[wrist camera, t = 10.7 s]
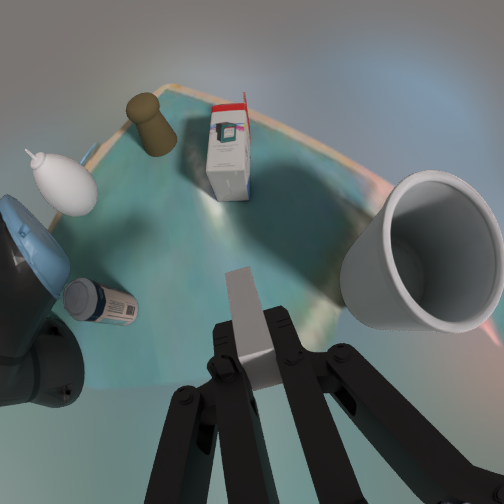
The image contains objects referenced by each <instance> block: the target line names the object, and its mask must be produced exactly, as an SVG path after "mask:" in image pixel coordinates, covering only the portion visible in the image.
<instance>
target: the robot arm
mask: <svg viewBox="0 0 504 504" xmlns="http://www.w3.org/2000/svg"><path fill="white" fill-rule="evenodd" d="M70 270H71V267H70V261H69V259H68V257H67V255H66V253H65V252H64V250H63V249H62V247H61V246H60V245H59V244H58V242H57V241H56V240H55V239H54V237H53V236H52V235H51V234H50V233H49V232H48V231H47V229H46V228H45V227H44V226H43V225H42V224H41V223H40V222H39V221H38V220H37V219H36V218H35V217H34V215H33V214H31V212H30V211H29V210H28V209H26V208H25V206H23V205H22V204H21V203H20V202H19V201H18V200H17V199H15V198H13V197H11V196H10V195H4V196H3V197H2V198H1V199H0V407H1V406H8V405H15V404H21V403H27V402H31V403H35V404H39V405H43V406H47V407H51V408H58V407H64V406H67V405H70V404H72V403H73V402H74V401H76V399H77V398H78V397H79V395H80V393H81V391H82V388H83V384H84V362H83V357H82V353H81V350H80V347H79V345H78V342H77V340H76V338H75V337H74V335H73V334H72V332H71V331H70V330H69V328H68V327H67V326H66V325H65V324H63V323H62V322H60V321H59V320H56V319H53V318H47V316H48V314H49V312H50V311H51V309H52V307H53V305H54V304H55V302H56V300H57V299H59V297H60V292H61V290H62V288H63V286H64V284H65V283H66V281H67V279H68V277H69V275H70ZM225 277H226V284H227V290H228V297H229V304H230V310H231V317H232V320H230V321H226V322H222V323H218V324H216V325H215V327H214V329H213V345H214V356H213V357H212V358H211V359H210V360H209V362H208V363H207V369H208V371H209V373H210V375H211V376H212V379H211V380H210V381H208V382H207V383H205V384H203V385H202V386H200V387H198V388H195V387H193V386H189V385H187V386H183V387H180V388H178V389H177V391H175V392H174V394H173V396H172V399H171V403H170V406H169V409H168V413H167V416H166V420H165V423H164V427H163V431H162V434H161V438H160V442H159V445H158V449H157V453H156V457H155V461H154V464H153V468H152V472H151V476H150V480H149V484H148V488H147V493H146V496H145V501H144V504H206V503H207V497H208V491H209V484H210V478H211V472H212V466H213V459H214V453H215V447H216V440H217V434H218V432H219V440H220V448H221V456H222V464H223V470H224V478H225V485H226V491H227V498H228V504H279V499H278V495H277V491H276V487H275V483H274V479H273V474H272V470H271V466H270V462H269V457H268V453H267V449H266V445H265V440H264V436H263V432H262V428H261V422H260V418H259V413H258V409H257V404H256V400H255V398H254V396H253V391H255V390H259V389H263V388H267V387H271V386H274V385H277V384H281V383H283V385H284V388H285V391H286V394H287V398H288V402H289V405H290V408H291V412H292V415H293V418H294V422H295V425H296V428H297V432H298V435H299V438H300V442H301V445H302V448H303V451H304V455H305V458H306V461H307V465H308V468H309V471H310V474H311V478H312V481H313V484H314V487H315V491H316V494H317V497H318V500H319V504H368V502H367V501H366V499H365V498H364V496H363V494H362V492H361V489H360V487H359V484H358V481H357V479H356V476H355V474H354V471H353V468H352V466H351V464H350V461H349V458H348V456H347V453H346V450H345V448H344V446H343V443H342V440H341V438H340V435H339V433H338V430H337V427H336V425H335V422H334V420H333V417H332V415H331V412H330V410H329V407H328V405H327V402H326V400H325V397H324V395H323V393H330V395H331V396H332V397H333V398H334V399H335V401H336V402H337V403H338V404H339V406H340V407H341V408H342V409H343V410H344V412H345V413H346V414H347V415H348V417H349V418H350V419H351V420H352V421H353V422H354V424H355V425H356V426H357V427H358V429H359V430H360V431H361V432H362V433H363V435H364V436H365V437H366V438H367V439H368V441H369V442H370V443H371V444H372V445H373V446H374V448H375V449H376V450H377V451H378V452H379V453H380V455H381V456H382V457H383V458H384V459H385V461H386V462H387V463H388V464H389V465H390V466H391V467H392V469H393V470H394V471H395V472H396V473H397V474H398V476H399V477H400V478H401V479H402V480H403V481H404V482H405V483H406V485H407V486H408V487H409V488H410V489H411V490H412V491H413V493H414V494H415V495H416V496H417V497H418V498H419V499H420V500H421V501H422V502H423V503H425V504H504V475H501V474H497V473H494V472H490V471H488V470H484V469H482V468H479V467H476V466H473V465H472V464H471V463H470V462H469V461H468V460H467V459H466V458H465V457H464V456H463V455H462V454H461V453H460V452H459V451H458V450H457V449H456V448H455V447H454V446H453V445H452V444H451V443H450V442H449V441H448V440H447V439H446V438H445V437H444V436H443V435H442V434H441V433H440V432H439V431H438V430H437V429H436V428H435V427H434V426H433V425H432V424H431V423H430V422H429V421H428V420H427V419H426V418H425V417H424V416H423V415H422V414H421V413H420V412H419V411H418V410H417V409H416V408H415V407H414V406H413V405H412V404H411V403H410V402H409V401H407V399H405V397H404V396H403V395H402V394H400V392H399V391H398V390H397V389H396V388H394V387H393V386H392V385H391V384H390V383H389V382H388V381H387V380H386V379H385V378H384V377H383V376H382V375H381V374H380V373H379V372H378V371H377V370H376V369H375V368H374V367H373V366H372V365H371V364H370V363H369V362H368V361H367V360H366V359H365V358H364V357H363V356H362V355H361V354H360V353H359V352H358V351H357V350H356V349H355V348H354V347H352V346H351V345H349V344H345V343H340V344H336V345H333V346H332V347H331V348H329V349H328V351H327V352H310V351H308V350H306V349H305V348H304V347H303V346H302V344H301V342H300V340H299V337H298V335H297V332H296V330H295V328H294V325H293V323H292V320H291V318H290V315H289V313H288V310H286V309H285V308H284V307H283V306H277V307H274V308H270V309H267V310H264V311H263V310H262V307H261V303H260V300H259V297H258V293H257V290H256V287H255V283H254V280H253V276H252V273H251V270H250V266H249V267H245V268H242V269H238V270H235V271H231V272H228V273H225ZM252 390H253V391H252Z"/></svg>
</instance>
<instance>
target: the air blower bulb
mask: <svg viewBox="0 0 504 504" xmlns="http://www.w3.org/2000/svg"><path fill="white" fill-rule="evenodd" d="M25 151H26V152H27V153H28V154H29V155H30V156H31V157H32V158H33V159H32V161H31V164H30V165H31V168H32V169H33V174H34V179H35V182H36V184H37V187H38V189H39V191H40V193H41V194H42V196H43V197H44V198H45V199H46V201H47V202H48V203H49V204H50V205H51V206H52V207H53V208H55V209H56V210H58V211H59V212H61V213H63V214H65V215H69V216H74V217H79V216H84V215H87V214H88V213H90V212H91V210H92V209H93V208H94V206H95V204H96V202H97V199H98V190H97V186H96V183H95V181H94V179H93V177H92V176H91V174H90V173H89V172H88V171H87V170H86V169H85V168H84V167H83V166H82V165H80V164H79V163H77V162H76V161H74V160H73V159H70V158H68V157H65V156H62V155H58V154H44V153H43V152H39V153H37V154H36V155H33V154H32V153H31V152H30V151H28V150H27V149H25Z"/></svg>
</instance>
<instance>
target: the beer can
mask: <svg viewBox="0 0 504 504" xmlns="http://www.w3.org/2000/svg"><path fill="white" fill-rule="evenodd" d="M63 302H64V308H65V309H66V310H67V312H68V313H69V314H70V316H71V317H72V318H74V319H75V320H78V321H89V322H97V323H105V324H114V325H121V326H126V325H129V324H131V323H132V322H133V321H134V320H135V319H136V317H137V313H138V305H137V302H136V300H135V298H134V297H133V296H132V295H131V294H129V293H126V292H123V291H120V290H117V289H115V288H112V287H109V286H106V285H103V284H100V283H97V282H95V281H92V280H89V279H86V278H78V279H75V280H73V281H71V282H70V283H69V284H68V285H67V286H66V287H65V291H64V295H63Z"/></svg>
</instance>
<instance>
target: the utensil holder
mask: <svg viewBox="0 0 504 504" xmlns="http://www.w3.org/2000/svg"><path fill="white" fill-rule="evenodd" d="M503 287H504V242H503V238H502V234H501V231H500V228H499V225H498V223H497V221H496V219H495V216H494V215H493V213H492V211H491V209H490V208H489V206H488V205H487V203H486V202H485V201H484V199H483V198H482V197H481V196H480V195H479V193H478V192H477V191H476V190H475V189H473V188H472V187H471V186H470V185H469V184H468V183H466V182H465V181H463V180H462V179H460V178H458V177H456V176H454V175H452V174H449V173H447V172H443V171H437V170H425V171H420V172H416V173H413V174H411V175H409V176H407V177H406V178H404V179H403V180H402V181H401V182H400V183H399V184H398V185H397V186H396V187H395V188H394V189H393V190H392V192H391V193H390V195H389V196H388V198H387V199H386V201H385V204H384V206H383V208H382V209H381V210H380V211H379V213H378V214H377V215H376V216H375V218H374V219H373V220H372V221H371V223H370V224H369V225H368V226H367V227H366V229H365V230H364V231H363V232H362V233H361V234H360V236H359V237H358V238H357V240H356V241H355V242H354V244H353V245H352V246H351V247H350V249H349V250H348V252H347V253H346V255H345V257H344V260H343V262H342V266H341V270H340V289H341V294H342V297H343V300H344V302H345V304H346V306H347V308H348V309H349V311H350V312H351V314H352V315H353V316H354V317H355V318H356V319H357V320H359V321H360V322H361V323H363V324H364V325H366V326H368V327H371V328H375V329H379V330H390V331H436V332H440V333H447V334H449V333H450V334H454V333H462V332H466V331H470V330H472V329H474V328H476V327H478V326H480V325H481V324H482V323H483V322H484V321H485V320H486V319H487V318H488V317H489V316H490V315H491V314H492V312H493V311H494V309H495V308H496V306H497V304H498V302H499V300H500V297H501V294H502V291H503Z"/></svg>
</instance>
